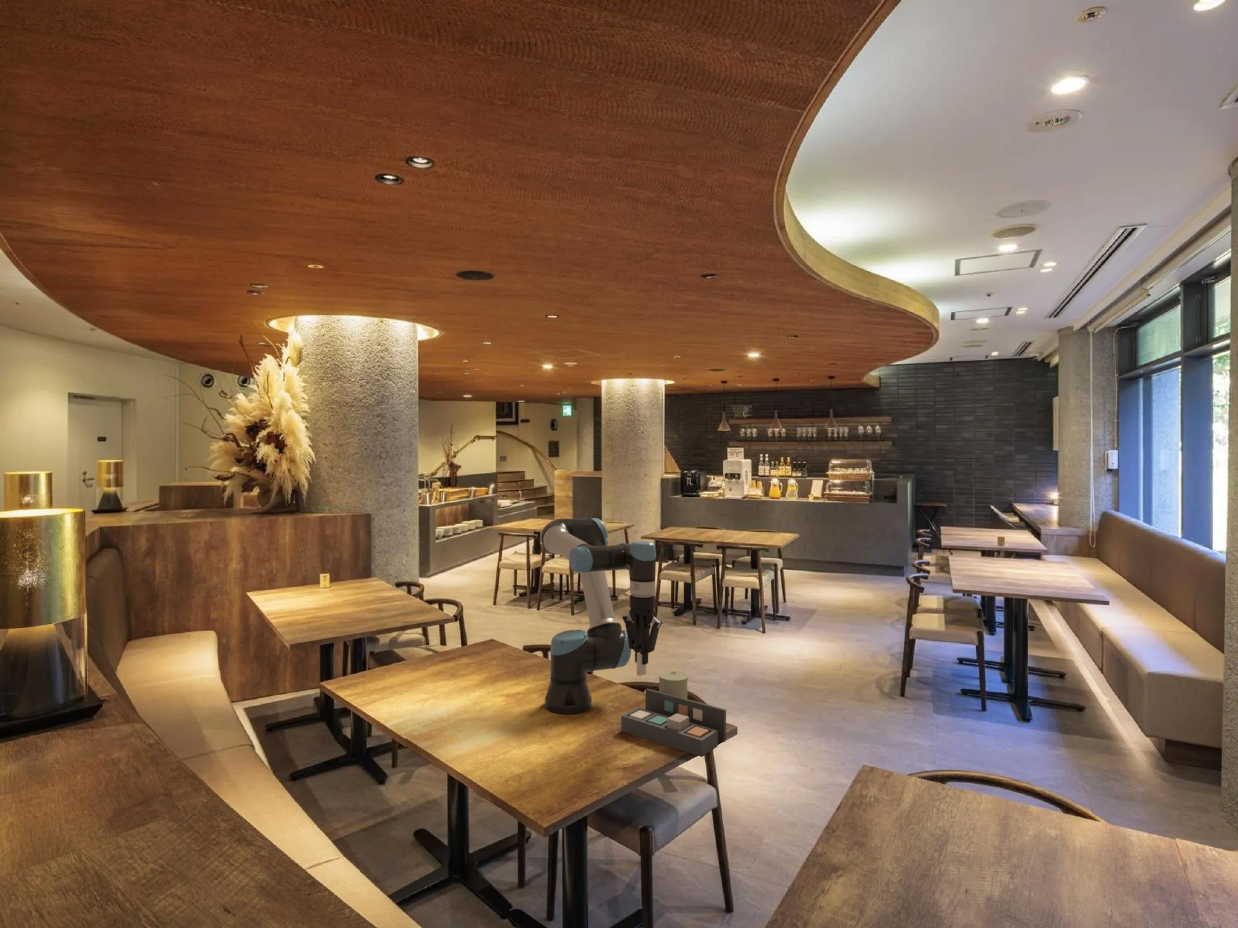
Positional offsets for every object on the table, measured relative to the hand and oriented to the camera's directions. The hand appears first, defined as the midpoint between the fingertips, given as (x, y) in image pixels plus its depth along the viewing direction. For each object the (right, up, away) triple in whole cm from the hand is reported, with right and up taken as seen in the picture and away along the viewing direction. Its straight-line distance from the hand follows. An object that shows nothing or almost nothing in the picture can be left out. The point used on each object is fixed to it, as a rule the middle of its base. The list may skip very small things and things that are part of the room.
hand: (641, 674), depth 201 cm
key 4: (+15, -16, -12) cm, 25 cm away
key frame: (+7, -17, -6) cm, 19 cm away
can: (+10, -17, +15) cm, 24 cm away
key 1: (0, -16, 0) cm, 16 cm away
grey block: (+10, -14, -8) cm, 19 cm away
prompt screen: (+13, -17, +1) cm, 21 cm away
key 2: (+5, -16, -4) cm, 17 cm away
